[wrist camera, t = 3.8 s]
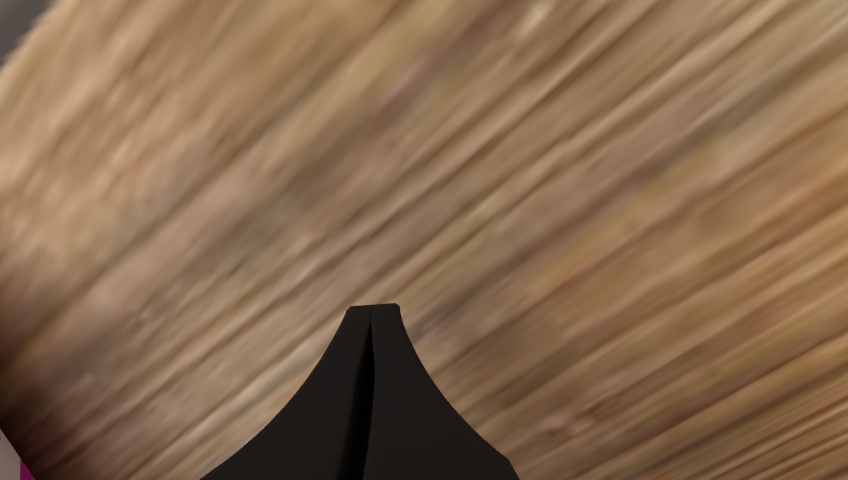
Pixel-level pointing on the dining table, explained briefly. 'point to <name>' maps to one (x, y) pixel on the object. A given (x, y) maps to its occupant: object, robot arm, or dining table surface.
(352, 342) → the robot arm
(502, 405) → the dining table surface
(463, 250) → the dining table surface
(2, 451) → the supplement can
